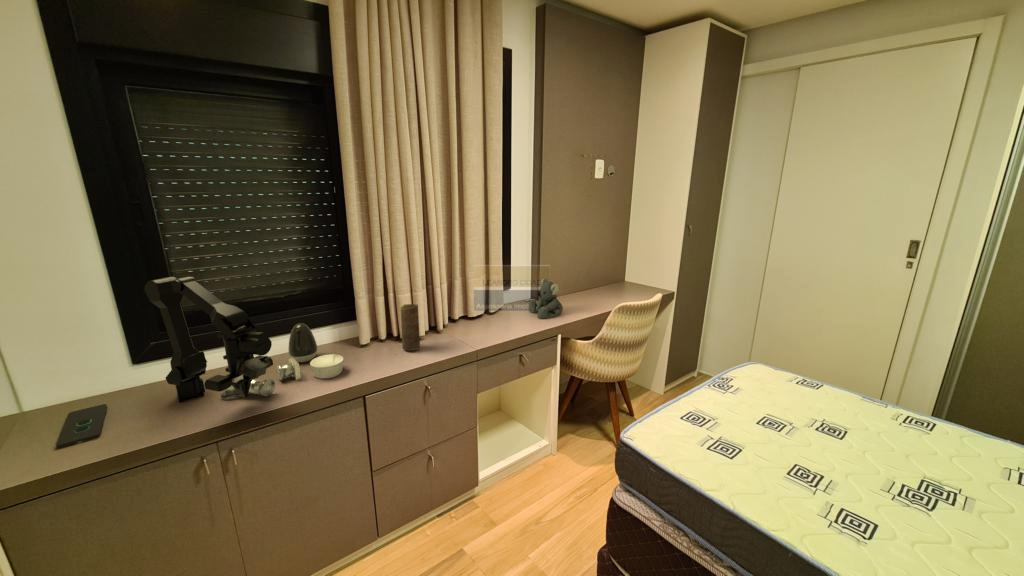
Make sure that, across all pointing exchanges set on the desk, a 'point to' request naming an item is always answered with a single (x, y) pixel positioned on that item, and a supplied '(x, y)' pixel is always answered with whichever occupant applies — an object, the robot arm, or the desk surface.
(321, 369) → the ramekin
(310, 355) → the black egg-shaped dome
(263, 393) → the elbow
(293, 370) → the metal pipe fitting
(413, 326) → the candle
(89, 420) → the smart home device
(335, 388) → the desk surface
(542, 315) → the koala plush
